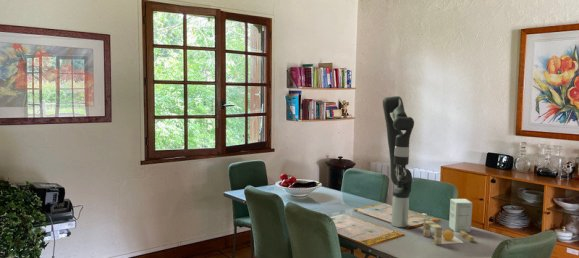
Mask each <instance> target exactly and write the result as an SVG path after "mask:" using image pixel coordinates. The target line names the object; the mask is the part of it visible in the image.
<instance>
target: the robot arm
mask: <svg viewBox="0 0 579 258" xmlns="http://www.w3.org/2000/svg"><path fill="white" fill-rule="evenodd" d="M382 109H383V114H384V119H385V125H386V126H385V127H386V133H387V135H386V136H387V145H388V150H389V151H388V152H389V160H390V161H389V162H390V178H391V182H392V184H393V185H394V186H396V187H395V189H394V190H393V191H392V206H391V207H392V208H391V225H392V226H394V227H396V228H406V226H407V225H409V204H410V194H411V192H412V183H413V175H412V172H411V171H410V170H409V169H408V168H406V167H407V166H408V165H409V161H410V158H409V157H410V138H411V135H412V131H413V129H414V125H415V120H414V119H413V118H412V117H411V116H408V115H407V113H406V111H405V106H404V102H403V99H402V97H400V96H397V95H396V96H389V97H388V96H387V97H384V98H382ZM391 114H392V116H391ZM403 131H405V132H403ZM407 227H408V226H407Z"/></svg>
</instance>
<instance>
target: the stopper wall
mask: <svg viewBox="0 0 579 258" xmlns="http://www.w3.org/2000/svg"><path fill="white" fill-rule="evenodd" d="M458 233H459V236H460V237H461V238H463V239H464V240H466V241H468V242H469V243H475V237H474V236H473V235H471V234H469V233H467V232H464V231H460V232H458Z"/></svg>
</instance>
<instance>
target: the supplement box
mask: <svg viewBox="0 0 579 258" xmlns="http://www.w3.org/2000/svg"><path fill="white" fill-rule="evenodd" d="M449 201H450V203H449V218H448V219H449V222H448V227H449V229H451V231H452V230H453V232H457V233H459V232H460V231H464V232H466V233H467V232H468V233H470V232H471V230H472V216H473V215H472V214H473V202H472V201H470V200H469V199H467V198H450V200H449Z"/></svg>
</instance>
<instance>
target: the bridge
mask: <svg viewBox="0 0 579 258" xmlns="http://www.w3.org/2000/svg"><path fill="white" fill-rule="evenodd" d="M422 226H423V230H422V236H423V237H424V238H427V237H428V238H429V237H431V227H432V228H433V229H434V235H433V236H434V237H433V245H435V246H441V245H442V243H441V239H442V235H443V227H442V226H441V225H439V224H438V223H436V222H434V221H433V220H431V219H430V218H424V219H423V225H422Z"/></svg>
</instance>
